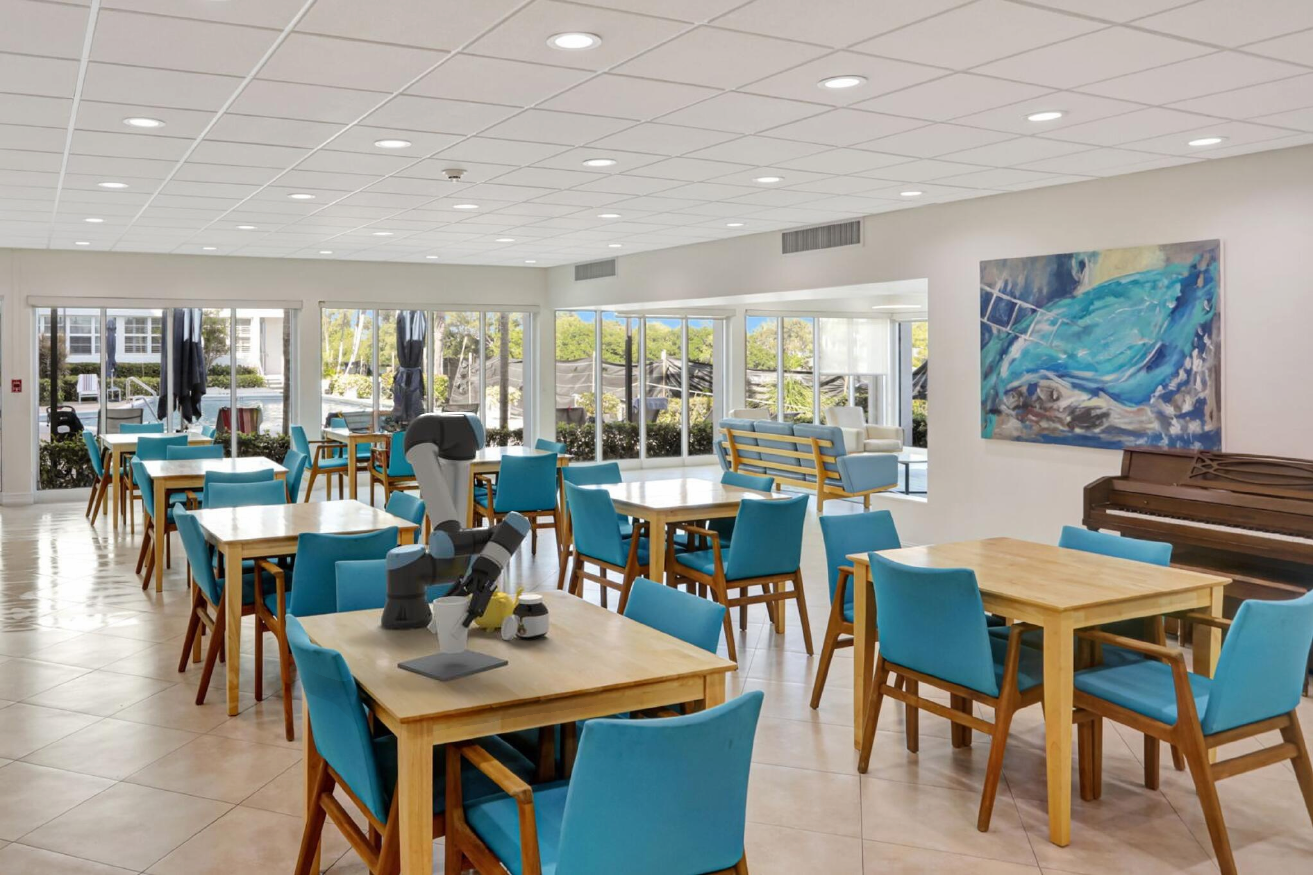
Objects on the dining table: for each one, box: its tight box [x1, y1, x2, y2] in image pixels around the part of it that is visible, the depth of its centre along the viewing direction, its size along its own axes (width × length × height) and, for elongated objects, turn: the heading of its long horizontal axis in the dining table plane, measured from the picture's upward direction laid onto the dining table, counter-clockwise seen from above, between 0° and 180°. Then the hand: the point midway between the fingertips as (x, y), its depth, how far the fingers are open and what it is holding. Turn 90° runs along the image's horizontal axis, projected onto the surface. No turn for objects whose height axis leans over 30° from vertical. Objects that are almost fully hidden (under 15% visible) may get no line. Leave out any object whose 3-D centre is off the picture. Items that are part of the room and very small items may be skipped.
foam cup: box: [432, 596, 471, 653], centre depth 264 cm, size 10×9×13 cm
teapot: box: [465, 586, 526, 633], centre depth 302 cm, size 20×15×12 cm
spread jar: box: [500, 593, 550, 641], centre depth 291 cm, size 12×11×12 cm
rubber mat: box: [397, 648, 509, 682], centre depth 264 cm, size 20×20×1 cm
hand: (442, 633), depth 261 cm, fingers closed on foam cup, 9 cm apart
